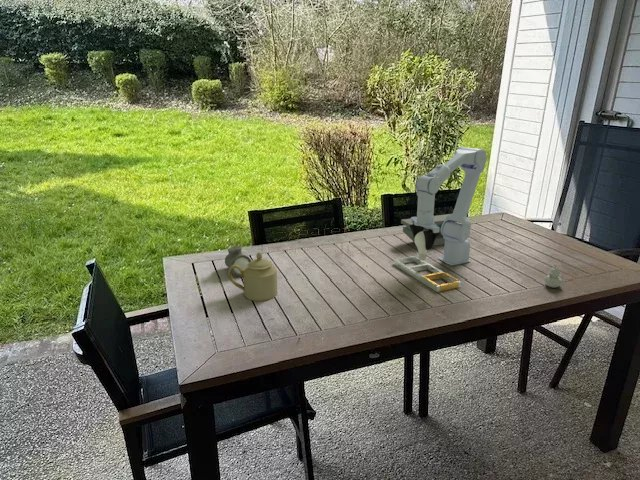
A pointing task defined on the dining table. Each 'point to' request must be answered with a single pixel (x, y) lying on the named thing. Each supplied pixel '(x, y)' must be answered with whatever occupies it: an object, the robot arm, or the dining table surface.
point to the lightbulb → (420, 245)
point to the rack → (428, 278)
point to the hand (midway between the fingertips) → (423, 246)
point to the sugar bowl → (257, 279)
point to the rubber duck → (553, 278)
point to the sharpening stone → (436, 219)
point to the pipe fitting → (236, 260)
